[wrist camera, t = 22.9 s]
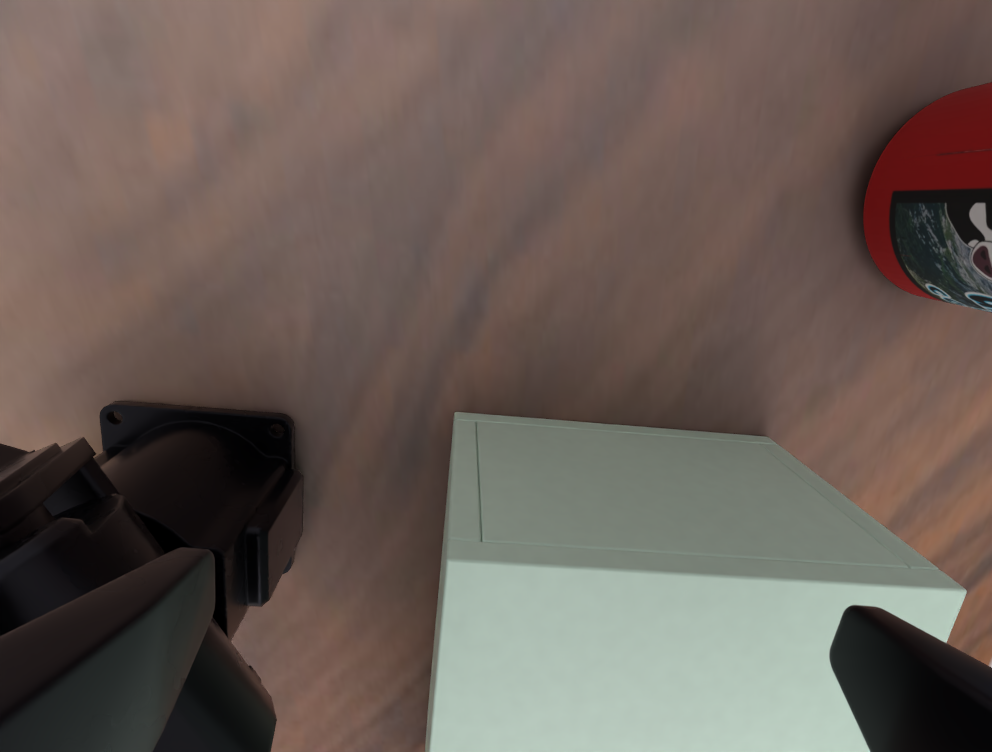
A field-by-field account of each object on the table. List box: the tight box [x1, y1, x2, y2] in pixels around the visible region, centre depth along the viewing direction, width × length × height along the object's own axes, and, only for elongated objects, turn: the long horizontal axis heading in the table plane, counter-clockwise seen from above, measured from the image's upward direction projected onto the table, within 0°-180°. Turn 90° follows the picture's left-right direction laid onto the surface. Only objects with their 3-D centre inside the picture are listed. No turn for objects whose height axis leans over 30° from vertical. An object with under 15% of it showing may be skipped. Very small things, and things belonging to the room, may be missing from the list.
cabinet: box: [425, 412, 967, 752], centre depth 19 cm, size 14×12×9 cm
